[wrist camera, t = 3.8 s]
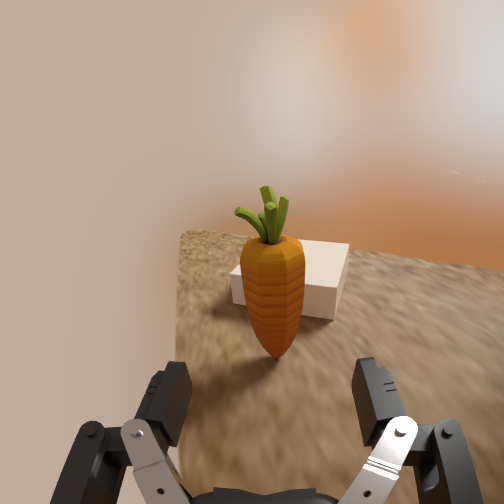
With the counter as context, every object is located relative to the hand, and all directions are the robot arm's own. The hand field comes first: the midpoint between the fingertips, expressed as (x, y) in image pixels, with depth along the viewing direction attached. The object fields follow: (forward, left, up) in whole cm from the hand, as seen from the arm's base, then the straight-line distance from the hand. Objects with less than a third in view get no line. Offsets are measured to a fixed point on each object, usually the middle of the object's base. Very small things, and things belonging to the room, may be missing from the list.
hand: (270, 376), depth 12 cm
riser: (+5, -22, -8) cm, 25 cm away
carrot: (+3, -9, -9) cm, 13 cm away
